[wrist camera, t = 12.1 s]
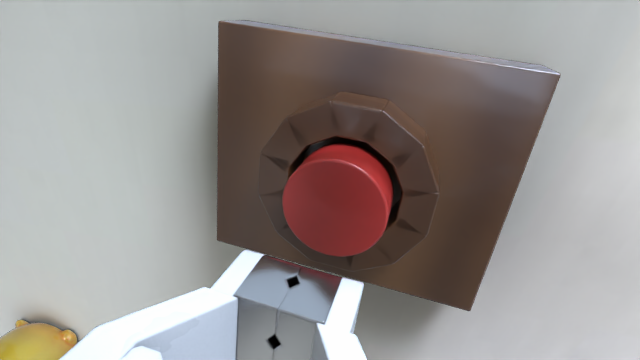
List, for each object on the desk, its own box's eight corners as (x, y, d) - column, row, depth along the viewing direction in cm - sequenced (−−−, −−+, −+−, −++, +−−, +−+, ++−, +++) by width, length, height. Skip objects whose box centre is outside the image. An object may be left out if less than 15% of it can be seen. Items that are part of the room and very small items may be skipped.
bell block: (544, 65, 14) (581, 82, 10) (466, 280, 18) (473, 344, 15) (243, 19, 16) (190, 21, 13) (237, 219, 21) (195, 262, 17)
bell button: (403, 154, 13) (399, 173, 11) (383, 242, 14) (376, 269, 13) (302, 133, 14) (285, 148, 12) (293, 219, 15) (277, 242, 14)
